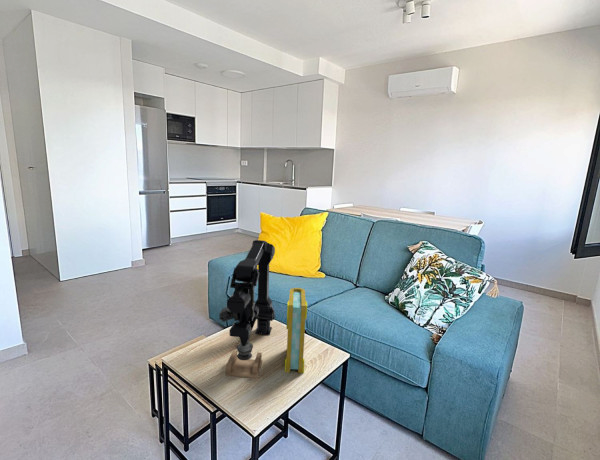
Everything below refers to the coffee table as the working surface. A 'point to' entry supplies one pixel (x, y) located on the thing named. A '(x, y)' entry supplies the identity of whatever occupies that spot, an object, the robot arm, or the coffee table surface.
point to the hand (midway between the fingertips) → (244, 342)
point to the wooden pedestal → (243, 366)
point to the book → (296, 330)
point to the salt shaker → (244, 350)
